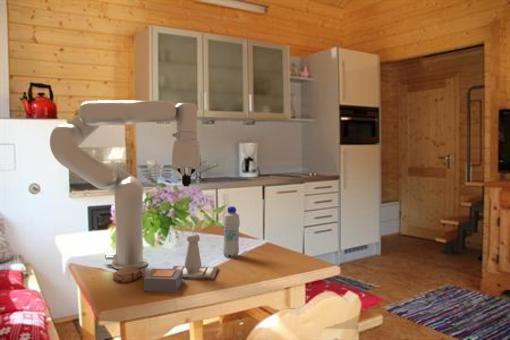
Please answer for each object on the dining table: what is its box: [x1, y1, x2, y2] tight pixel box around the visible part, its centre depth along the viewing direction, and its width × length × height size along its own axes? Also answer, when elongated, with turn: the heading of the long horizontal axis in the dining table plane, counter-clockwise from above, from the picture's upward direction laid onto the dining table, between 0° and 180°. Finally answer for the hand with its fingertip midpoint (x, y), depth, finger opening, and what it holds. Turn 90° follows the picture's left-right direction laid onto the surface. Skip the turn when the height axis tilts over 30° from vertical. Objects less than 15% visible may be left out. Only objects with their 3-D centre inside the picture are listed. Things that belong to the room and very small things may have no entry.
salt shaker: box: [184, 233, 202, 273], centre depth 150 cm, size 6×6×13 cm
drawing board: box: [171, 265, 219, 281], centre depth 151 cm, size 16×12×1 cm
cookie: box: [112, 267, 144, 284], centre depth 146 cm, size 10×11×3 cm
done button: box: [152, 270, 176, 277], centre depth 138 cm, size 6×6×3 cm
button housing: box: [143, 268, 184, 293], centre depth 138 cm, size 10×10×4 cm
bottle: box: [222, 206, 241, 258], centre depth 174 cm, size 7×7×20 cm
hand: (186, 186), depth 162 cm, fingers closed
